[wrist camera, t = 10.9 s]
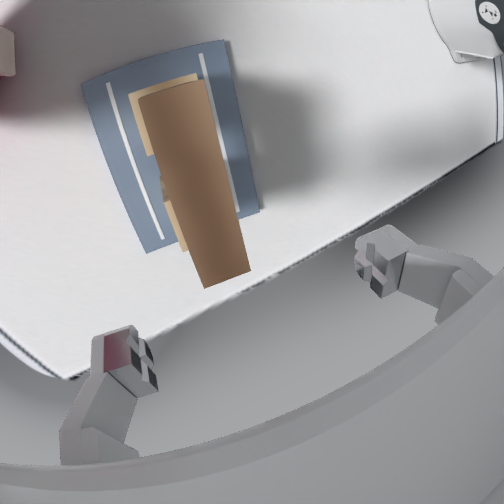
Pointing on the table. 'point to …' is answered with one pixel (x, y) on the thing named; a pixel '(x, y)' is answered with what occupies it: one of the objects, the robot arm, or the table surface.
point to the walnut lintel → (196, 178)
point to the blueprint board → (145, 167)
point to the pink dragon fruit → (7, 53)
